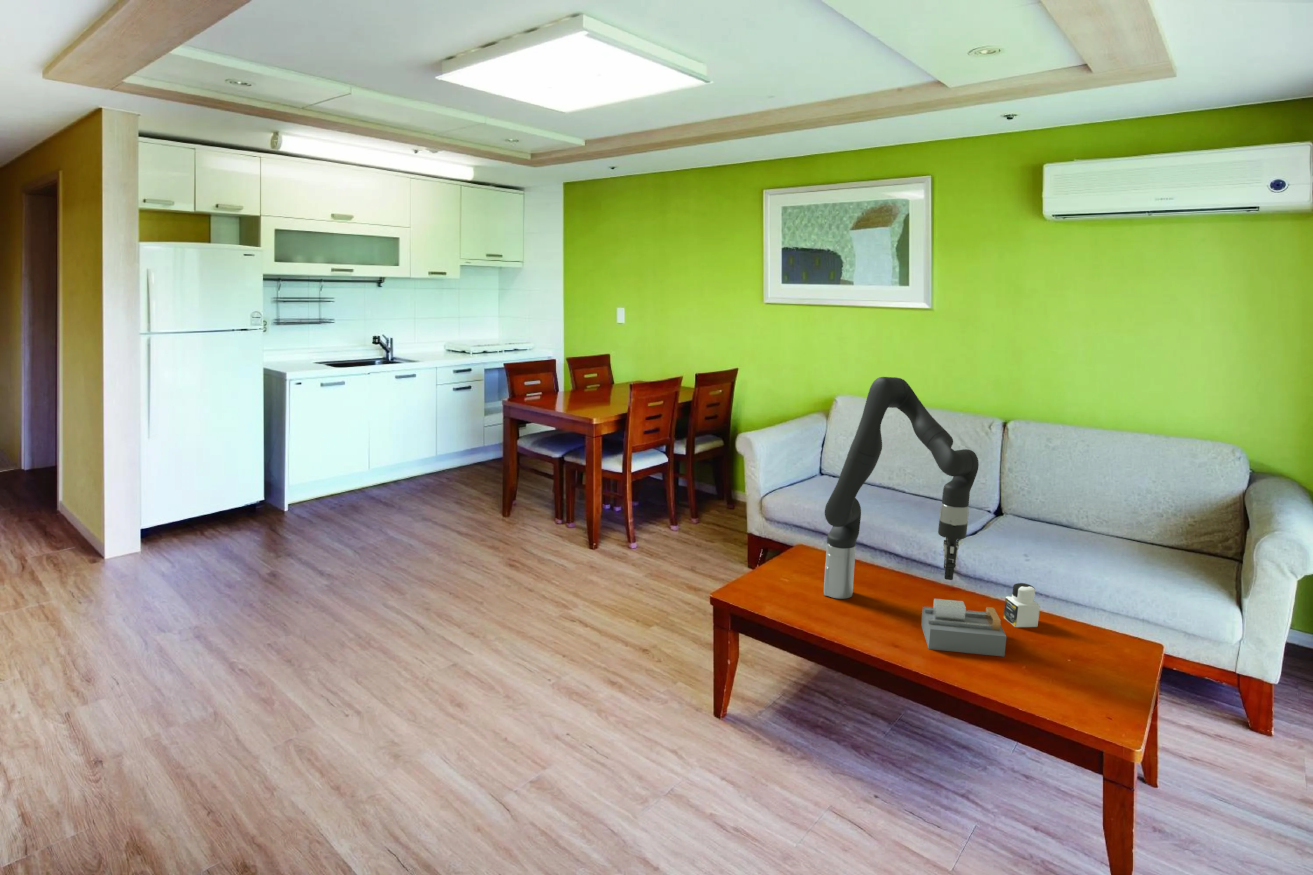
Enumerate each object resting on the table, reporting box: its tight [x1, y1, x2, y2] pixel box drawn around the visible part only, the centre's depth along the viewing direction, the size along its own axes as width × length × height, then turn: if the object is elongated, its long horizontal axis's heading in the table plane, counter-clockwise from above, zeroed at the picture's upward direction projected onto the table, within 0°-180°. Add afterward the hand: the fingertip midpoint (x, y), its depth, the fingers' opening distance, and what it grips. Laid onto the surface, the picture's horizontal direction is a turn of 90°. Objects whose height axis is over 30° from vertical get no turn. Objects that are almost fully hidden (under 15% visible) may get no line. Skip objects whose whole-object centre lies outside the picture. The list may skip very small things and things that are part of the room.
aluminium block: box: [932, 598, 967, 622], centre depth 222 cm, size 8×5×5 cm, turn 78°
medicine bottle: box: [1003, 582, 1041, 628], centre depth 234 cm, size 7×7×12 cm
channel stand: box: [920, 606, 1007, 657], centre depth 222 cm, size 20×16×9 cm
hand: (948, 573), depth 220 cm, fingers open, 8 cm apart
